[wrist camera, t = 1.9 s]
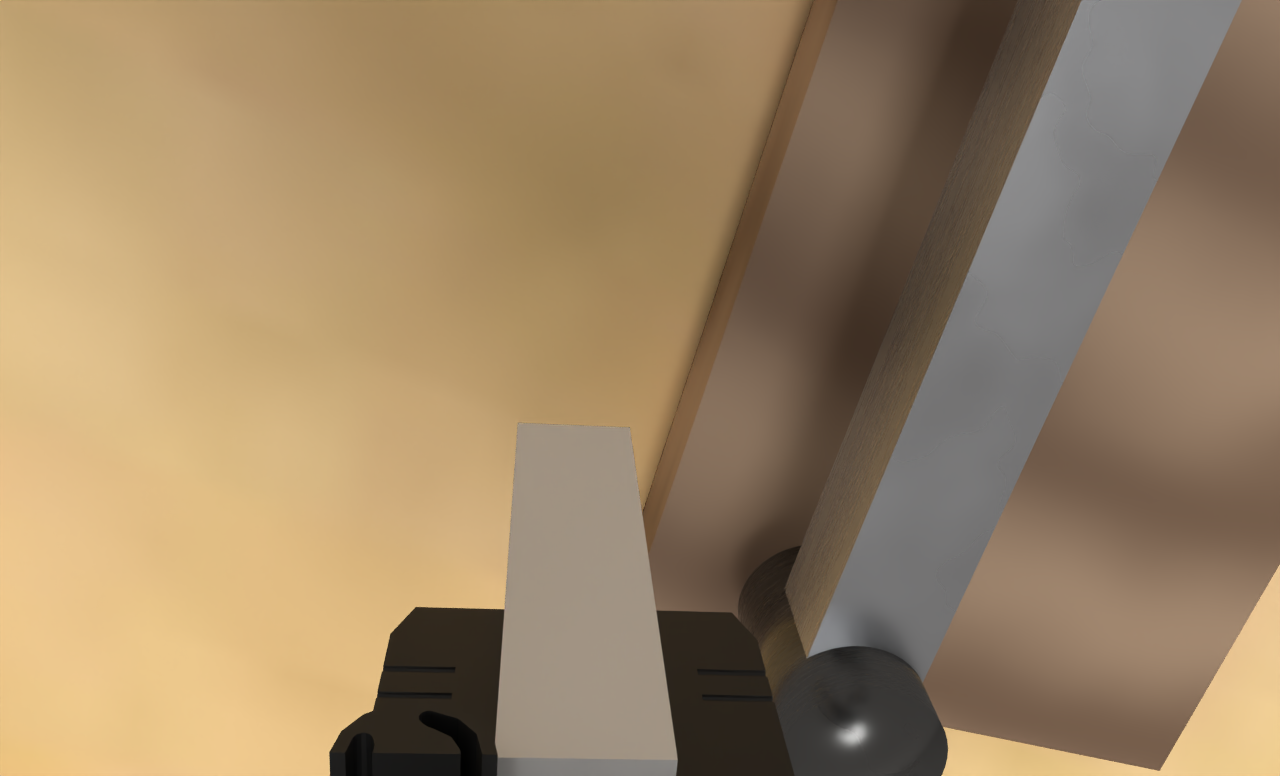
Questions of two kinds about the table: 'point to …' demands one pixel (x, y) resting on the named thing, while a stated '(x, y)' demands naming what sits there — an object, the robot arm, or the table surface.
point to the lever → (972, 370)
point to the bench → (1078, 420)
